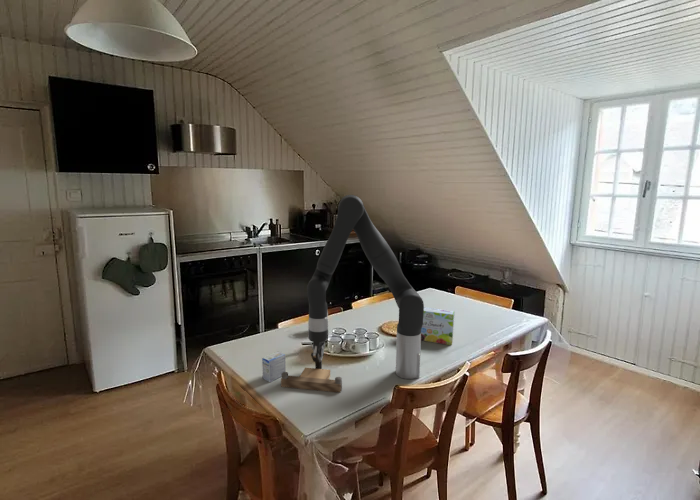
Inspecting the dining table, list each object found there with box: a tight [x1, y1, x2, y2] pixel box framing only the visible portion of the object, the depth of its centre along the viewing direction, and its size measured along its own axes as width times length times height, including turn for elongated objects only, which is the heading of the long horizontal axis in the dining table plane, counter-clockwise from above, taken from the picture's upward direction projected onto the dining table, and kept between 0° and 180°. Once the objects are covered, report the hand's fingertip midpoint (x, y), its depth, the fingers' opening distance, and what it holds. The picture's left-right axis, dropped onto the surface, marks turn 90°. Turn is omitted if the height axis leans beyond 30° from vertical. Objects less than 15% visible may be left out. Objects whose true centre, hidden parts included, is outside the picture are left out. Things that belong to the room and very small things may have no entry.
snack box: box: [421, 306, 455, 346], centre depth 189 cm, size 21×6×15 cm, turn 70°
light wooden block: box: [299, 367, 331, 379], centre depth 152 cm, size 10×8×3 cm
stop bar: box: [280, 371, 343, 393], centre depth 147 cm, size 22×3×4 cm, turn 80°
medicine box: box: [261, 351, 287, 383], centre depth 154 cm, size 8×4×9 cm, turn 141°
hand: (318, 369), depth 157 cm, fingers closed
